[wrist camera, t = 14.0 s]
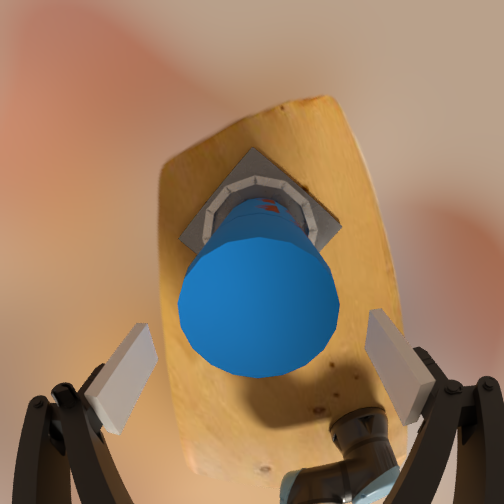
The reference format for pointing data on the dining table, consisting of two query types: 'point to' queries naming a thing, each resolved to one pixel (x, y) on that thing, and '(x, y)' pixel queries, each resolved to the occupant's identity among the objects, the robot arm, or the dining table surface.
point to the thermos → (258, 294)
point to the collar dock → (260, 186)
